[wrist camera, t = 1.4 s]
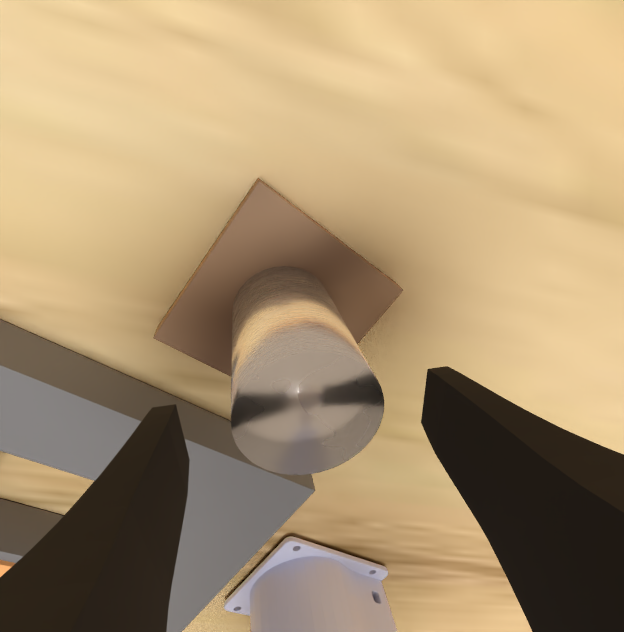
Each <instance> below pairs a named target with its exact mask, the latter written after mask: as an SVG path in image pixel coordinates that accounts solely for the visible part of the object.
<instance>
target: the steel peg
mask: <svg viewBox="0 0 624 632" xmlns="http://www.w3.org/2000/svg"><path fill="white" fill-rule="evenodd" d="M383 412H384V397H383V392H382V389H381V386H380V384H379V382H378V380H377V379H376V377H375V375H374V373H373V372H372V370H371V368H370V366H369V364H368V363H367V361H366V359H365V357H364V356H363V354H362V352H361V350H360V349H359V347H358V345H357V343H356V341H355V340H354V338H353V336H352V334H351V333H350V331H349V329H348V327H347V326H346V324H345V322H344V320H343V319H342V317H341V315H340V313H339V311H338V310H337V308H336V306H335V304H334V303H333V301H332V299H331V297H330V296H329V294H328V292H327V290H326V289H325V287H324V286H323V284H322V283H321V282H320V281H319V280H318V279H317V278H316V277H315V276H314V275H312V274H311V273H309V272H307V271H305V270H303V269H300V268H296V267H290V266H279V267H272V268H268V269H265V270H263V271H261V272H259V273H257V274H255V275H254V276H252V277H251V278H249V279H248V280H247V281H246V282H245V283H244V284H243V286H242V287H241V288H240V290H239V291H238V293H237V295H236V297H235V300H234V304H233V310H232V379H231V430H232V435H233V438H234V440H235V443H236V445H237V446H238V448H239V450H240V451H241V452H242V453H243V454H244V456H245V457H247V458H248V459H249V460H250V461H251V462H253V463H254V464H256V465H257V466H259V467H261V468H263V469H266V470H269V471H272V472H275V473H280V474H287V475H306V474H313V473H318V472H322V471H325V470H329V469H331V468H334V467H336V466H338V465H340V464H342V463H344V462H346V461H348V460H349V459H351V458H352V457H354V456H355V455H356V454H358V453H359V452H360V451H361V450H362V449H363V448H364V447H365V446H366V445H367V444H368V443H369V442H370V441H371V439H372V438H373V436H374V435H375V433H376V432H377V430H378V428H379V426H380V423H381V420H382V417H383Z"/></svg>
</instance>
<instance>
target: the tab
mask: <svg viewBox="0 0 624 632" xmlns="http://www.w3.org/2000/svg"><path fill="white" fill-rule="evenodd" d="M279 266H290V267H296V268H300V269H303V270H305V271H307V272H309V273H311V274H312V275H314V276H315V277H316V278H317V279H318V280H319V281H320V282H321V283H322V284H323V286H324V287H325V289H326V290H327V292H328V294H329V296H330V297H331V299H332V301H333V303H334V304H335V306H336V308H337V310H338V311H339V313H340V315H341V317H342V319H343V320H344V322H345V324H346V326H347V327H348V329H349V331H350V333H351V334H352V336H353V338H354V340H355V341H356V343H357V344H358V343H359V341H360V340H361V339H362V338H363V337H364V336H365V334H366V333H367V332H368V331H369V330H370V329H371V327H372V326H373V325H374V324H375V323H376V322H377V320H378V319H379V318H380V317H381V316H382V315H383V313H384V312H385V311H386V310H387V309H388V308H389V307H390V305H391V304H392V303H393V302H394V301H395V300H396V298H397V297H398V296H399V295H400V294H401V293H402V291H403V289H402V288H400V287H399V286H398V285H397V284H396V283H395V282H394V281H393V280H391V279H390V278H389V277H387V276H386V275H385V274H383V273H382V272H381V271H379V270H378V269H377V268H376V267H374V266H373V265H372V264H370V263H369V262H368V261H366V260H365V259H364V258H362V257H361V256H360V255H358V254H357V253H356V252H355V251H353V250H352V249H351V248H349V247H348V246H347V245H345V244H344V243H343V242H341V241H340V240H339V239H337V238H336V237H335V236H334V235H332V234H331V233H330V232H328V231H327V230H326V229H324V228H323V227H322V226H320V225H319V224H318V223H316V222H315V221H314V220H313V219H311V218H310V217H309V216H307V215H306V214H305V213H303V212H302V211H301V210H299V209H298V208H297V207H295V206H294V205H293V204H291V203H290V202H289V201H288V200H286V199H285V198H284V197H282V196H281V195H280V194H278V193H277V192H276V191H274V190H273V189H272V188H270V187H269V186H268V185H267V184H265V183H264V182H263V181H261V180H260V179H259V178H258V179H257V180H256V182H255V183H254V185H253V186H252V188H251V189H250V191H249V192H248V194H247V195H246V197H245V198H244V200H243V201H242V203H241V204H240V206H239V207H238V208H237V210H236V211H235V213H234V214H233V216H232V217H231V219H230V220H229V222H228V223H227V225H226V226H225V228H224V229H223V231H222V232H221V234H220V235H219V237H218V238H217V240H216V241H215V243H214V244H213V246H212V247H211V249H210V250H209V252H208V253H207V255H206V256H205V257H204V259H203V260H202V262H201V263H200V265H199V266H198V268H197V269H196V271H195V272H194V274H193V275H192V277H191V278H190V280H189V281H188V283H187V284H186V286H185V287H184V289H183V290H182V292H181V293H180V295H179V296H178V298H177V299H176V301H175V302H174V304H173V305H172V306H171V308H170V309H169V311H168V312H167V314H166V315H165V317H164V318H163V320H162V321H161V323H160V324H159V326H158V327H157V330H156V332H155V335H154V339H156V340H158V341H160V342H162V343H164V344H166V345H169V346H171V347H173V348H175V349H177V350H179V351H181V352H183V353H185V354H187V355H189V356H191V357H193V358H195V359H197V360H199V361H201V362H203V363H205V364H207V365H209V366H211V367H213V368H215V369H217V370H219V371H221V372H223V373H225V374H227V375H229V376H231V377H232V310H233V304H234V300H235V297H236V295H237V293H238V291H239V290H240V288H241V287H242V286H243V284H244V283H245V282H246V281H247V280H248V279H249V278H251V277H252V276H254V275H255V274H257V273H259V272H261V271H263V270H265V269H268V268H272V267H279Z"/></svg>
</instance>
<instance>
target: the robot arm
mask: <svg viewBox="0 0 624 632" xmlns="http://www.w3.org/2000/svg"><path fill="white" fill-rule="evenodd" d="M421 423H422V425H423V428H424V430H425V432H426V435H427V437H428V439H429V441H430V443H431V445H432V448H433V450H434V452H435V454H436V455H437V457H438V459H439V460H440V462H441V464H442V465H443V467H444V468H445V470H446V472H447V473H448V475H449V477H450V478H451V480H452V481H453V483H454V485H455V486H456V488H457V489H458V491H459V493H460V494H461V496H462V497H463V499H464V501H465V502H466V504H467V505H468V507H469V508H470V510H471V512H472V513H473V515H474V516H475V518H476V520H477V521H478V523H479V525H480V526H481V528H482V530H483V532H484V533H485V535H486V537H487V539H488V540H489V542H490V544H491V546H492V548H493V550H494V552H495V554H496V556H497V558H498V560H499V562H500V564H501V566H502V568H503V570H504V572H505V574H506V576H507V578H508V580H509V582H510V584H511V586H512V589H513V591H514V593H515V595H516V597H517V599H518V601H519V603H520V605H521V608H522V610H523V612H524V614H525V616H526V618H527V620H528V623H529V625H530V627H531V629H532V632H624V455H623V454H621V453H618V452H615V451H613V450H610V449H608V448H605V447H603V446H601V445H598V444H596V443H594V442H591V441H589V440H587V439H584V438H582V437H580V436H578V435H575V434H573V433H571V432H569V431H566V430H564V429H562V428H560V427H558V426H556V425H554V424H552V423H550V422H548V421H546V420H544V419H542V418H540V417H538V416H536V415H534V414H532V413H530V412H528V411H526V410H525V409H523V408H521V407H519V406H517V405H515V404H513V403H512V402H510V401H508V400H506V399H505V398H503V397H501V396H499V395H497V394H496V393H494V392H492V391H490V390H489V389H487V388H485V387H483V386H482V385H480V384H478V383H477V382H475V381H473V380H471V379H470V378H468V377H466V376H464V375H463V374H461V373H459V372H457V371H455V370H453V369H451V368H449V367H447V366H446V367H439V368H432V369H428V371H427V379H426V387H425V396H424V404H423V412H422V420H421ZM189 461H190V459H189V455H188V451H187V447H186V443H185V439H184V435H183V431H182V427H181V423H180V419H179V415H178V411H177V407H176V404H174V405H166V406H159V407H152V408H151V410H150V411H149V412H148V413H147V415H146V416H145V417H144V419H143V420H142V421H141V423H140V424H139V425H138V427H137V428H136V429H135V431H134V432H133V433H132V435H131V436H130V437H129V439H128V440H127V441H126V443H125V444H124V445H123V447H122V448H121V449H120V450H119V452H118V453H117V454H116V455H115V457H114V458H113V459H112V461H111V462H110V463H109V464H108V466H107V467H106V468H105V469H104V471H103V472H102V473H101V474H100V475H99V477H98V478H97V479H96V480H95V481H94V482H93V484H92V485H91V486H90V487H89V488H88V489H87V491H86V492H85V493H84V494H83V495H82V496H81V497H80V499H79V500H78V501H77V502H76V503H75V504H74V505H73V507H72V508H71V509H70V510H69V511H68V512H67V513H66V514H65V515H64V516H63V517H62V518H61V520H60V521H59V522H58V523H57V524H56V525H55V526H54V527H53V528H52V529H51V530H50V531H49V532H48V533H47V534H46V535H45V536H44V537H43V538H42V539H41V540H40V541H39V542H38V543H37V544H36V545H35V546H34V547H33V548H32V549H31V550H30V551H29V552H28V553H27V554H25V555H24V556H23V557H22V558H21V559H20V560H19V561H18V562H17V563H16V564H14V565H13V566H12V567H11V568H10V569H9V570H8V571H7V572H6V573H4V574H3V575H2V576H1V577H0V632H166V631H167V620H168V608H169V601H170V594H171V587H172V581H173V575H174V570H175V564H176V559H177V553H178V547H179V542H180V536H181V531H182V525H183V519H184V514H185V508H186V502H187V496H188V481H189ZM387 575H388V571H387V568H386V567H385V566H382V565H379V564H376V563H373V562H370V561H367V560H364V559H360V558H357V557H354V556H351V555H348V554H345V553H342V552H339V551H336V550H333V549H330V548H327V547H324V546H321V545H318V544H315V543H312V542H308V541H305V540H302V539H299V538H296V537H292V536H290V537H287V538H285V539H284V540H283V541H282V542H281V543H280V544H279V545H278V546H277V547H276V548H275V549H274V550H273V551H272V552H271V553H270V555H269V556H268V557H267V558H266V559H265V560H264V561H263V562H262V563H261V564H260V565H259V566H258V567H257V568H256V569H255V570H254V571H253V572H252V573H251V574H250V575H249V576H248V577H247V578H246V579H245V581H244V582H243V583H242V584H241V585H240V586H239V587H238V588H237V589H236V590H235V591H234V592H233V593H232V594H231V595H230V596H229V597H228V598H227V599H226V600H225V602H224V609H225V610H226V611H230V612H235V613H239V614H244V615H249V616H250V626H251V632H398V631H397V628H396V625H395V622H394V619H393V616H392V613H391V610H390V606H389V603H388V600H387V597H386V594H385V591H384V588H383V585H382V582H381V581H382V580H383V579H384V578H385V577H386V576H387Z"/></svg>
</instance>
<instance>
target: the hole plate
mask: <svg viewBox="0 0 624 632" xmlns="http://www.w3.org/2000/svg"><path fill="white" fill-rule="evenodd" d="M174 404H176V407H177V411H178V415H179V419H180V423H181V427H182V431H183V435H184V439H185V443H186V447H187V451H188V455H189V459H190V461H189V481H188V496H187V502H186V508H185V514H184V519H183V525H182V531H181V536H180V542H179V547H178V553H177V559H176V564H175V570H174V575H173V581H172V587H171V594H170V601H169V608H168V620H167V631H166V632H182V631H183V630H184V629H185V628H186V627H187V626H188V624H189V623H190V622H191V621H192V620H193V619H194V618H195V617H196V616H197V615H198V614H199V613H200V612H201V611H202V610H203V609H204V608H205V606H206V605H207V604H208V603H209V602H210V601H211V600H212V599H213V598H214V597H215V596H216V595H217V594H218V593H219V592H220V591H221V590H222V589H223V587H224V586H225V585H226V584H227V583H228V582H229V581H230V580H231V579H232V578H233V577H234V576H235V575H236V574H237V573H238V572H239V571H240V569H241V568H242V567H243V566H244V565H245V564H246V563H247V562H248V561H249V560H250V559H251V558H252V557H253V556H254V555H255V554H256V553H257V551H258V550H259V549H260V548H261V547H262V546H263V545H264V544H265V543H266V542H267V541H268V540H269V539H270V538H271V537H272V536H273V535H274V533H275V532H276V531H277V530H278V529H279V528H280V527H281V526H282V525H283V524H284V523H285V522H286V521H287V520H288V519H289V518H290V517H291V516H292V514H293V513H294V512H295V511H296V510H297V509H298V508H299V507H300V506H301V505H302V504H303V503H304V502H305V501H306V500H307V499H308V498H309V496H310V495H311V494H312V493H313V492H314V491H315V488H314V484H313V479H312V475H311V474H306V475H287V474H280V473H275V472H272V471H269V470H266V469H263V468H261V467H259V466H257V465H256V464H254V463H253V462H251V461H250V460H249V459H248V458H247V457H245V456H244V454H243V453H242V452H241V451H240V450H239V448H238V446H237V445H236V443H235V440H234V438H233V435H232V430H231V421H229V420H227V419H224V418H222V417H220V416H218V415H215V414H213V413H211V412H209V411H206V410H204V409H202V408H200V407H197V406H195V405H193V404H191V403H188V402H186V401H184V400H181V399H179V398H177V397H175V396H172V395H170V394H168V393H166V392H163V391H161V390H159V389H157V388H154V387H152V386H150V385H148V384H145V383H143V382H141V381H138V380H136V379H134V378H132V377H129V376H127V375H125V374H123V373H120V372H118V371H116V370H114V369H111V368H109V367H107V366H105V365H102V364H100V363H98V362H95V361H93V360H91V359H89V358H86V357H84V356H82V355H80V354H77V353H75V352H73V351H71V350H68V349H66V348H64V347H62V346H59V345H57V344H55V343H52V342H50V341H48V340H46V339H43V338H41V337H39V336H37V335H34V334H32V333H30V332H28V331H25V330H23V329H21V328H19V327H16V326H14V325H12V324H9V323H7V322H5V321H3V320H0V451H2V452H6V453H9V454H12V455H15V456H18V457H21V458H25V459H28V460H31V461H34V462H37V463H40V464H43V465H47V466H50V467H53V468H56V469H59V470H62V471H65V472H69V473H72V474H75V475H78V476H81V477H84V478H88V479H91V480H94V481H95V480H96V479H97V478H98V477H99V475H100V474H101V473H102V472H103V471H104V469H105V468H106V467H107V466H108V464H109V463H110V462H111V461H112V459H113V458H114V457H115V455H116V454H117V453H118V452H119V450H120V449H121V448H122V447H123V445H124V444H125V443H126V441H127V440H128V439H129V437H130V436H131V435H132V433H133V432H134V431H135V429H136V428H137V427H138V425H139V424H140V423H141V421H142V420H143V419H144V417H145V416H146V415H147V413H148V412H149V411H150V410H151V408H152V407H159V406H166V405H174ZM62 517H63V515H59V514H56V513H52V512H48V511H45V510H41V509H37V508H33V507H30V506H26V505H22V504H19V503H15V502H11V501H8V500H4V499H0V577H1V576H2V575H3V574H4V573H6V572H7V571H8V570H9V569H10V568H11V567H12V566H13V565H14V564H16V563H17V562H18V561H19V560H20V559H21V558H22V557H23V556H24V555H25V554H27V553H28V552H29V551H30V550H31V549H32V548H33V547H34V546H35V545H36V544H37V543H38V542H39V541H40V540H41V539H42V538H43V537H44V536H45V535H46V534H47V533H48V532H49V531H50V530H51V529H52V528H53V527H54V526H55V525H56V524H57V523H58V522H59V521H60V520H61V518H62Z"/></svg>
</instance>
